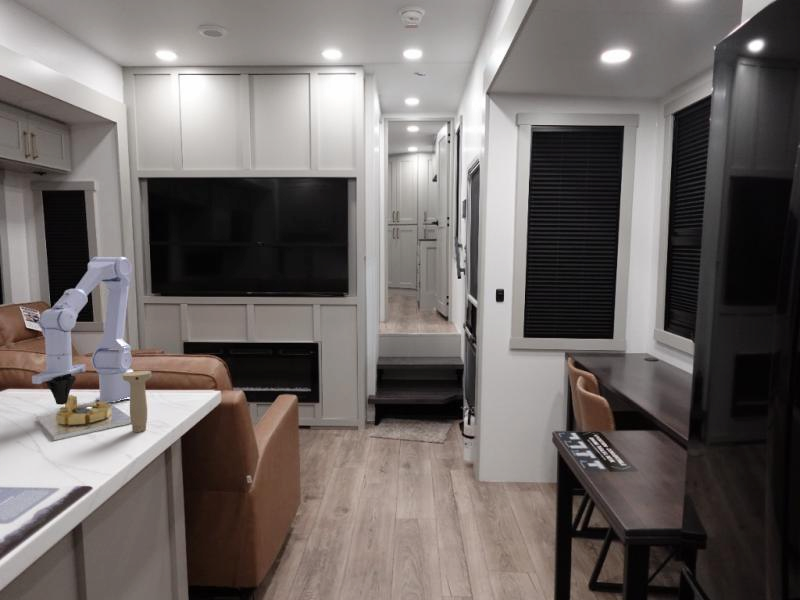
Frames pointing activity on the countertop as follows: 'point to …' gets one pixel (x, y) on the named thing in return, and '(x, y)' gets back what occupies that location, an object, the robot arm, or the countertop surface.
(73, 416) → the gold blocky ring
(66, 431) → the plate
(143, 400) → the handle
